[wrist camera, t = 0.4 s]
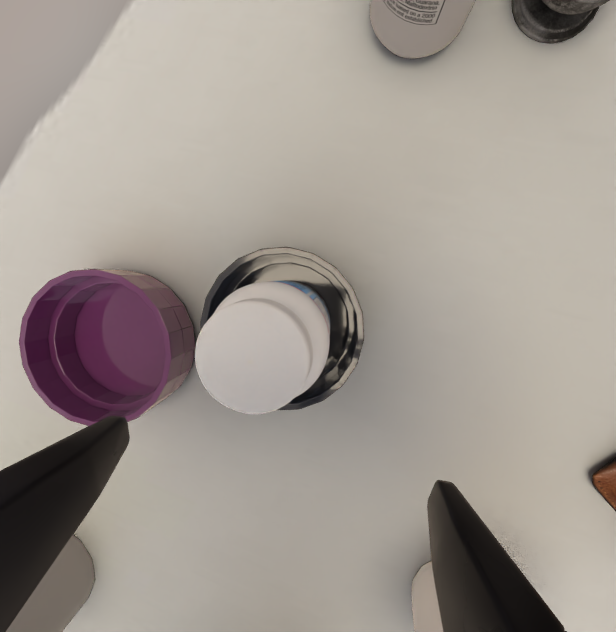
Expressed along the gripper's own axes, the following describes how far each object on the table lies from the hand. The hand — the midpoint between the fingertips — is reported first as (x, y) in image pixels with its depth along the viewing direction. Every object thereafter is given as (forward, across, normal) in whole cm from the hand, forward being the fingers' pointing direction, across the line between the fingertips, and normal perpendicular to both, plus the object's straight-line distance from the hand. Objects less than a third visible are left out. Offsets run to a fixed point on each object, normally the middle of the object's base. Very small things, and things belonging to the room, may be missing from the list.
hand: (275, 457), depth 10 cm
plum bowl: (+14, +14, +7) cm, 21 cm away
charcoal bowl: (+15, +2, +3) cm, 15 cm away
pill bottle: (+15, +2, +3) cm, 15 cm away
